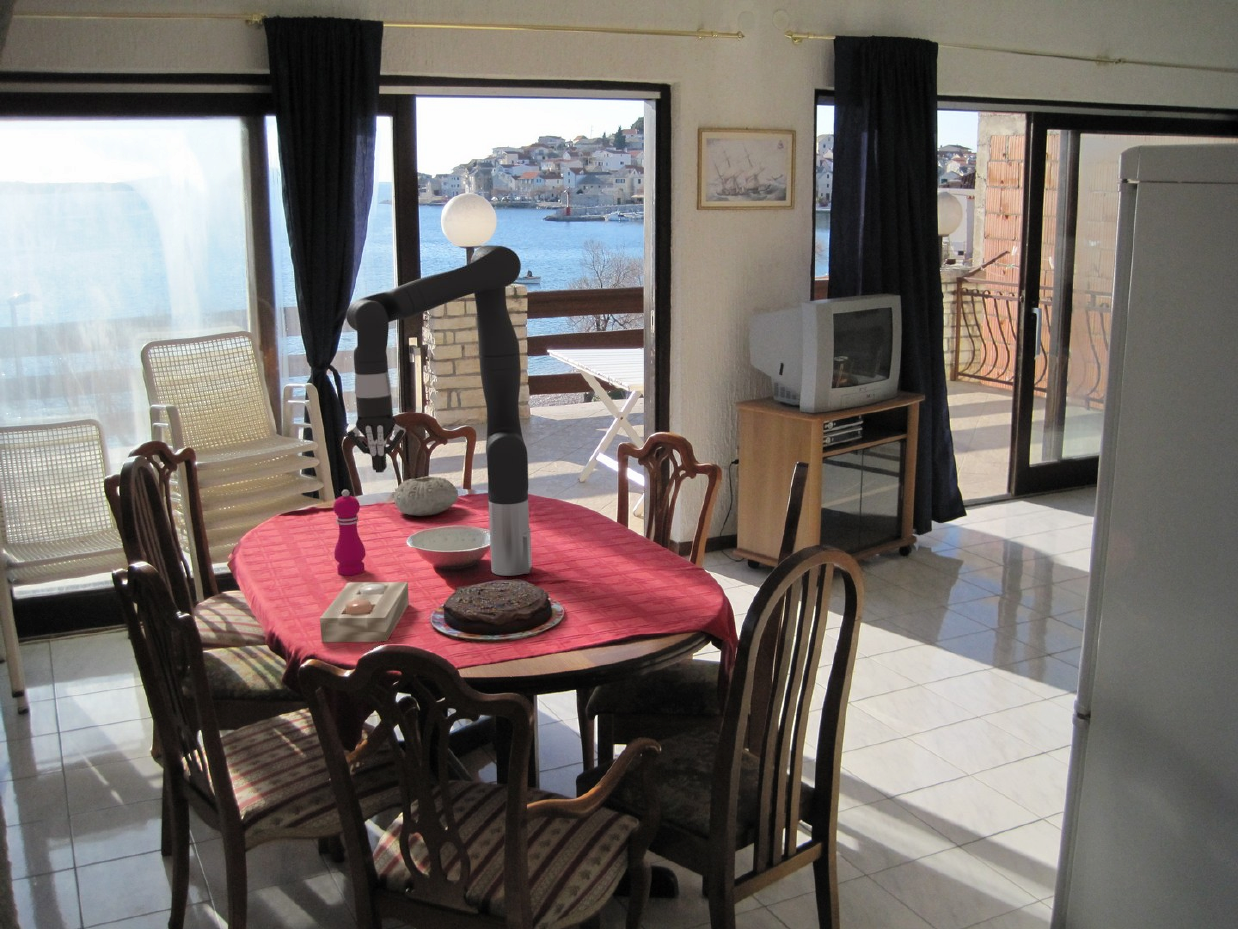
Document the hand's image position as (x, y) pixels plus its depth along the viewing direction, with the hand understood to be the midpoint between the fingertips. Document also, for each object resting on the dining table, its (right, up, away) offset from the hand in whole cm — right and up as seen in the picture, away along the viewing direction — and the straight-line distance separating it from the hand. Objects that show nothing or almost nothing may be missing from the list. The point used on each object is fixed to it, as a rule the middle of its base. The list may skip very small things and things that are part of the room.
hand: (379, 471), depth 255 cm
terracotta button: (0, -30, -18) cm, 35 cm away
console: (0, -31, -12) cm, 33 cm away
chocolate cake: (+27, -31, -10) cm, 42 cm away
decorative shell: (-2, -12, +73) cm, 74 cm away
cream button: (0, -28, -6) cm, 29 cm away
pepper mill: (-11, -24, +22) cm, 34 cm away
